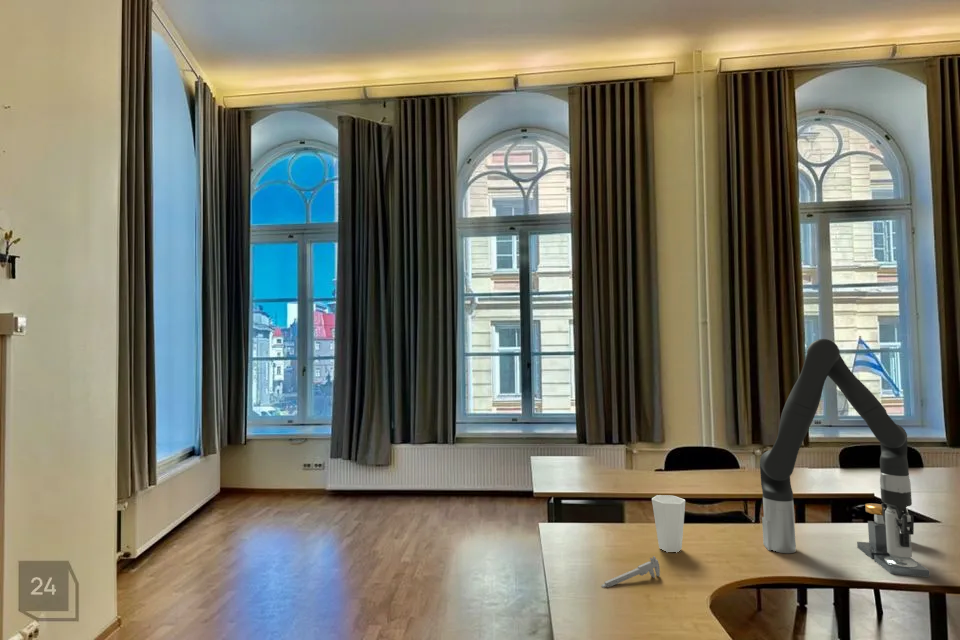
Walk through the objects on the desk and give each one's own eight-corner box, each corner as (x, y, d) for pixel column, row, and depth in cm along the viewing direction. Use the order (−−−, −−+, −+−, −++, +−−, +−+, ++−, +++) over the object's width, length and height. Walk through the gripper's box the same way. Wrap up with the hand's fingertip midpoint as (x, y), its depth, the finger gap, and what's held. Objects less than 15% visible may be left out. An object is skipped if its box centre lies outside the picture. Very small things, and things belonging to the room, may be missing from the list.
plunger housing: (871, 558, 167) (869, 527, 168) (857, 547, 177) (855, 518, 177) (907, 561, 164) (905, 529, 165) (891, 549, 174) (889, 520, 175)
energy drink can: (903, 553, 162) (900, 505, 163) (917, 561, 156) (914, 511, 157) (882, 552, 163) (880, 504, 164) (896, 560, 157) (893, 510, 158)
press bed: (890, 573, 155) (890, 566, 155) (874, 561, 165) (874, 554, 165) (929, 577, 153) (929, 569, 153) (910, 563, 162) (910, 556, 163)
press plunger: (873, 536, 168) (871, 508, 169) (863, 529, 175) (861, 502, 176) (898, 538, 167) (896, 510, 167) (886, 531, 173) (885, 504, 174)
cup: (693, 552, 174) (691, 501, 175) (670, 557, 170) (668, 505, 171) (670, 541, 184) (668, 493, 185) (647, 546, 180) (646, 496, 181)
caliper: (657, 576, 156) (656, 555, 157) (659, 577, 155) (659, 556, 156) (601, 587, 149) (600, 565, 150) (603, 589, 148) (602, 566, 149)
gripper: (870, 482, 169) (873, 533, 167) (893, 493, 155) (897, 550, 153) (897, 483, 167) (900, 535, 165) (922, 495, 153) (926, 552, 152)
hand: (898, 542), depth 159 cm, fingers closed on energy drink can, 6 cm apart
